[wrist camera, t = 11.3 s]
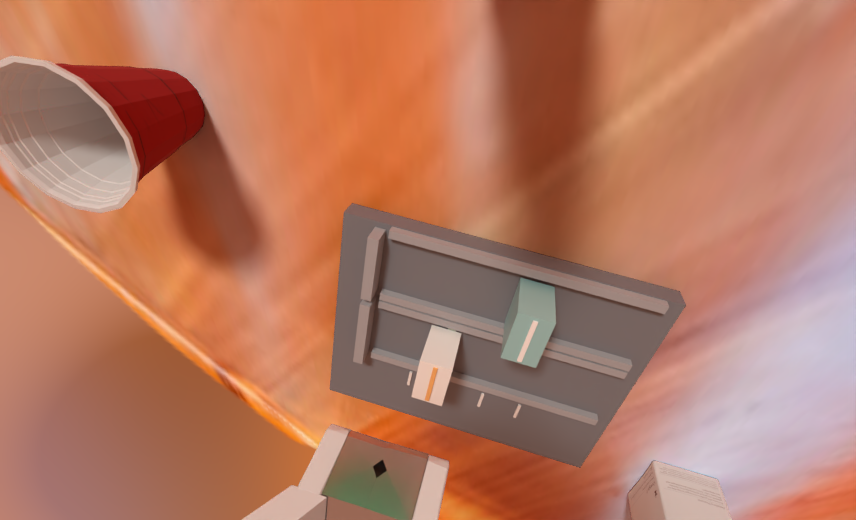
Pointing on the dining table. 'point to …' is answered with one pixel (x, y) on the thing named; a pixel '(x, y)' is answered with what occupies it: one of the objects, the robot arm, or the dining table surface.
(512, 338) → the fader
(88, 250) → the dining table surface
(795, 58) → the dining table surface
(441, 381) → the fader
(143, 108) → the plastic cup
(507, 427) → the console
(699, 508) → the supplement box
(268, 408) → the dining table surface
